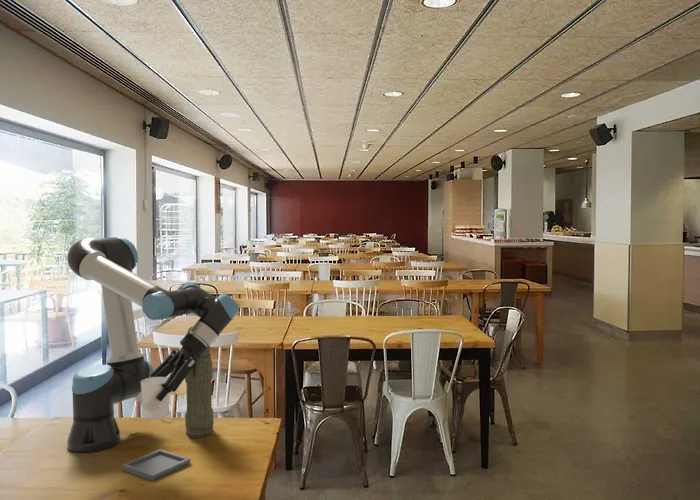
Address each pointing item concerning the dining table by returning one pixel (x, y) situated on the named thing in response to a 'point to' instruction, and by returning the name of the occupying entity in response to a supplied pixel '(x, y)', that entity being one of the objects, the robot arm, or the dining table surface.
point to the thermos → (199, 397)
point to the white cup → (147, 391)
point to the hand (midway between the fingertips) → (143, 405)
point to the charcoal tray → (156, 464)
